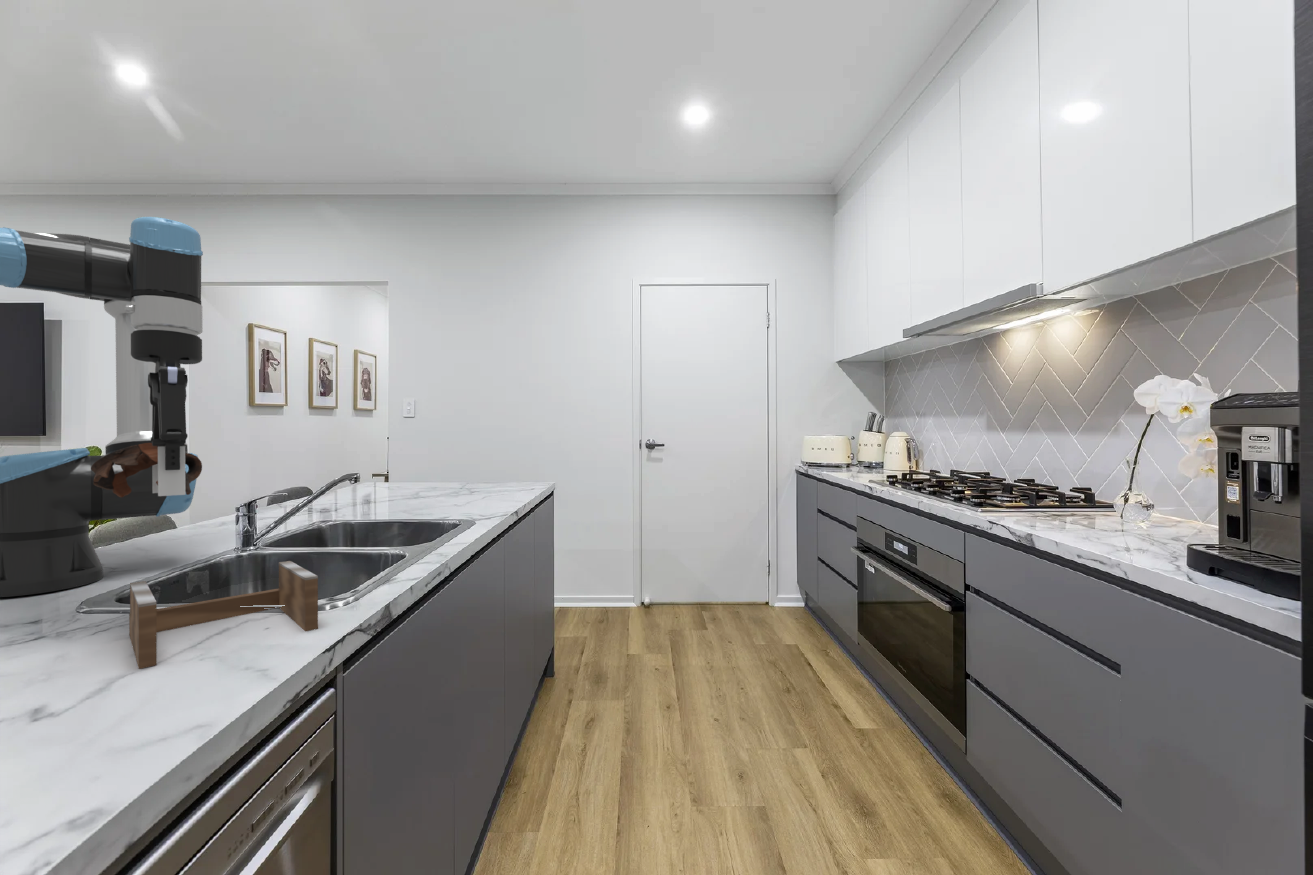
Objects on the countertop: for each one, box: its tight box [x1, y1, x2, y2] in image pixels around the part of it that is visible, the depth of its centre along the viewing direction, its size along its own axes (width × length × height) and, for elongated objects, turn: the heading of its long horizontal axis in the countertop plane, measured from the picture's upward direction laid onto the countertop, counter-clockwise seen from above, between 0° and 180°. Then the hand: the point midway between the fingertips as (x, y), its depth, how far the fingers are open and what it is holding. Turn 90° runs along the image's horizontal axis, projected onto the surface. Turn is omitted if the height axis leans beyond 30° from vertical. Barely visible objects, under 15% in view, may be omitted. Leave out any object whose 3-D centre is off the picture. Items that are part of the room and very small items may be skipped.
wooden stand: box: [128, 560, 319, 670], centre depth 75 cm, size 16×18×7 cm
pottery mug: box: [91, 443, 203, 497], centre depth 78 cm, size 12×9×8 cm
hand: (168, 493), depth 78 cm, fingers closed on pottery mug, 9 cm apart
